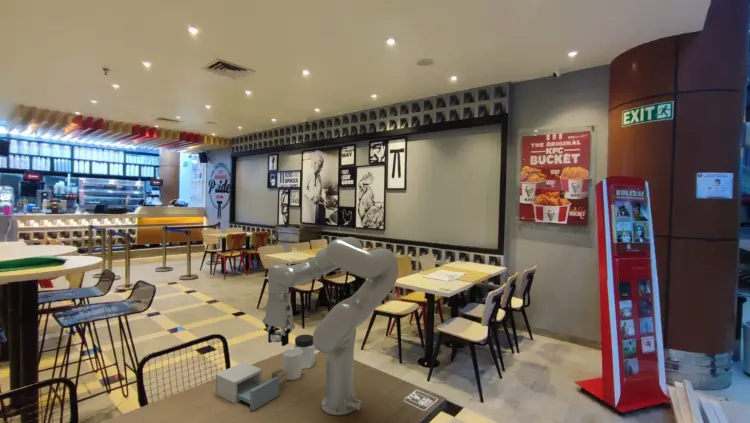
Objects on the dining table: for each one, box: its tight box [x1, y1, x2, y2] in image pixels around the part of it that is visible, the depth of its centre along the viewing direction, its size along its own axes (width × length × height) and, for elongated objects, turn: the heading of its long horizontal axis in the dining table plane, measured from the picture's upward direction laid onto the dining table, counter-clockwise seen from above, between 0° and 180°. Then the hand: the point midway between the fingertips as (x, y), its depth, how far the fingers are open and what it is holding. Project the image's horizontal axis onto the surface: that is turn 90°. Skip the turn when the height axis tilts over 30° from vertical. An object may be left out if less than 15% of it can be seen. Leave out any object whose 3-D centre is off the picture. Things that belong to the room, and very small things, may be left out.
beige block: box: [271, 367, 288, 391], centre depth 136 cm, size 4×4×6 cm
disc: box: [270, 330, 283, 343], centre depth 135 cm, size 6×6×2 cm
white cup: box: [282, 347, 303, 381], centre depth 145 cm, size 8×8×10 cm
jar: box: [293, 334, 316, 370], centre depth 155 cm, size 9×8×12 cm
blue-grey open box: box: [237, 377, 280, 412], centre depth 127 cm, size 11×12×7 cm
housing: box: [215, 361, 263, 404], centre depth 132 cm, size 11×12×8 cm
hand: (278, 342), depth 135 cm, fingers closed on disc, 5 cm apart
